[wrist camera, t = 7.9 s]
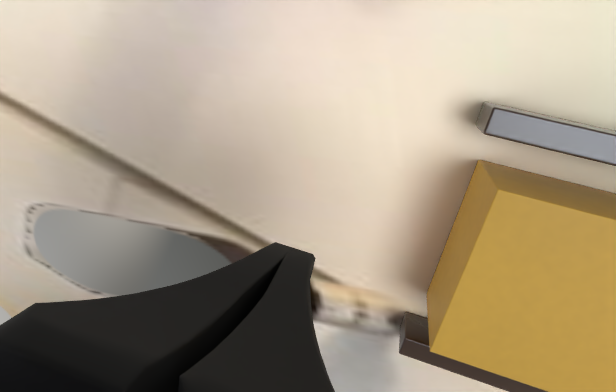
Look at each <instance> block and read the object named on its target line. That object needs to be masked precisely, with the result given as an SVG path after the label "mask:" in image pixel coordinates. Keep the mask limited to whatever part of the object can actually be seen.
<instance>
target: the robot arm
mask: <svg viewBox="0 0 616 392" xmlns="http://www.w3.org/2000/svg"><path fill="white" fill-rule="evenodd" d="M314 262H315V257H314V255H313V254H311V253H308V252H305V251H301V250H298V249H295V248H292V247H289V246H286V245H283V244H279V243H276V242H275V243H273V244H271V245H269V246H267V247H265V248H263V249H261V250H259V251H257V252H255V253H253V254H251V255H249V256H247V257H245V258H243V259H241V260H239V261H237V262H235V263H233V264H230V265H228V266H226V267H223V268H221V269H219V270H216V271H213V272H211V273H209V274H206V275H203V276H201V277H198V278H195V279H192V280H188V281H186V282H182V283H179V284H175V285H172V286H167V287H163V288H158V289H154V290H149V291H145V292H140V293H135V294H129V295H123V296H117V297H109V298H101V299H92V300H81V301H65V302H50V303H35V304H33V305H32V306H30V307H28V308H27V309H25V310H24V311H22V312H21V313H19V314H17V315H16V316H14V317H13V318H11V319H10V320H8V321H6V322H5V323H3V324H2V325H0V392H335V391H334V389H333V386H332V384H331V382H330V379H329V376H328V374H327V371H326V368H325V365H324V362H323V359H322V356H321V354H320V350H319V346H318V342H317V339H316V334H315V329H314V324H313V318H312V311H311V301H310V278H311V274H312V270H313V266H314Z"/></svg>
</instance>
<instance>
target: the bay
mask: <svg viewBox="0 0 616 392" xmlns="http://www.w3.org/2000/svg"><path fill="white" fill-rule="evenodd" d="M476 126H477V127H478V128H479V129H480V130H481V131H482V132H483V133H484V134H485V135H489V136H494V137H498V138H502V139H506V140H510V141H514V142H519V143H523V144H527V145H531V146H535V147H539V148H543V149H548V150H552V151H556V152H560V153H564V154H568V155H572V156H577V157H581V158H585V159H589V160H593V161H597V162H602V163H606V164H610V165H614V166H616V131H613V130H609V129H605V128H600V127H596V126H591V125H587V124H583V123H578V122H574V121H569V120H565V119H561V118H556V117H552V116H547V115H543V114H538V113H534V112H530V111H525V110H521V109H516V108H512V107H508V106H503V105H499V104H494V103H490V102H484V103H483V106H482V108H481V111H480V114H479V116H478V119H477V122H476ZM399 353H400V354H402V355H405V356H408V357H411V358H414V359H417V360H420V361H422V362H425V363H428V364H431V365H434V366H437V367H440V368H443V369H445V370H448V371H451V372H454V373H457V374H460V375H463V376H466V377H468V378H471V379H474V380H477V381H480V382H483V383H486V384H489V385H491V386H494V387H497V388H500V389H503V390H506V391H509V392H548V391H545V390H542V389H539V388H536V387H533V386H530V385H527V384H524V383H521V382H518V381H516V380H513V379H510V378H507V377H504V376H501V375H498V374H495V373H492V372H489V371H486V370H483V369H480V368H477V367H474V366H471V365H469V364H466V363H463V362H460V361H457V360H454V359H451V358H448V357H445V356H442V355H439V354H436V353H433V352H431V351H430V347H429V329H428V319H426V318H423V317H420V316H417V315H414V314H411V313H408V312H406V313H405V315H404V318H403V320H402V323H401V326H400V343H399Z"/></svg>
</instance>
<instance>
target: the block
mask: <svg viewBox="0 0 616 392" xmlns="http://www.w3.org/2000/svg"><path fill="white" fill-rule="evenodd" d="M427 311H428V329H429V347H430V351H431V352H433V353H436V354H439V355H442V356H445V357H448V358H451V359H454V360H457V361H460V362H463V363H466V364H469V365H471V366H474V367H477V368H480V369H483V370H486V371H489V372H492V373H495V374H498V375H501V376H504V377H507V378H510V379H513V380H516V381H518V382H521V383H524V384H527V385H530V386H533V387H536V388H539V389H542V390H545V391H548V392H616V194H614V193H610V192H606V191H602V190H598V189H594V188H590V187H586V186H582V185H578V184H574V183H570V182H566V181H562V180H558V179H554V178H550V177H546V176H542V175H538V174H534V173H531V172H527V171H523V170H519V169H515V168H511V167H507V166H503V165H499V164H495V163H491V162H487V161H483V160H478V162H477V165H476V168H475V170H474V173H473V175H472V178H471V180H470V183H469V186H468V188H467V191H466V193H465V196H464V199H463V201H462V204H461V206H460V209H459V211H458V214H457V217H456V219H455V222H454V224H453V227H452V230H451V232H450V235H449V237H448V240H447V242H446V245H445V248H444V250H443V253H442V255H441V258H440V261H439V263H438V266H437V268H436V271H435V273H434V276H433V279H432V281H431V284H430V286H429V289H428V292H427Z"/></svg>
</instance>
